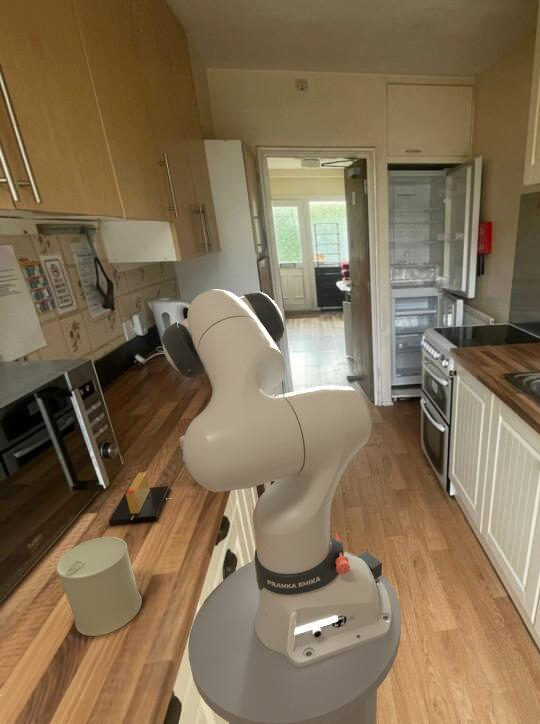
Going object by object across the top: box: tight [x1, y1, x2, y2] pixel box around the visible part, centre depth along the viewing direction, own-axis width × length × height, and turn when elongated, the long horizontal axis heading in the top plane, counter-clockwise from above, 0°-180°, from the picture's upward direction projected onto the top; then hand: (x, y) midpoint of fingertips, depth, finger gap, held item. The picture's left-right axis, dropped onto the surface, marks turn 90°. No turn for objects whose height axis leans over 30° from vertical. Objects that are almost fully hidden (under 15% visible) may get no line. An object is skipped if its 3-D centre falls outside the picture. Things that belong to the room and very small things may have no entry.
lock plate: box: [107, 485, 174, 527], centre depth 95 cm, size 13×13×2 cm
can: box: [55, 536, 143, 637], centre depth 67 cm, size 9×9×12 cm
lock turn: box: [125, 471, 151, 514], centre depth 94 cm, size 9×2×5 cm, turn 13°
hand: (186, 461), depth 104 cm, fingers closed
